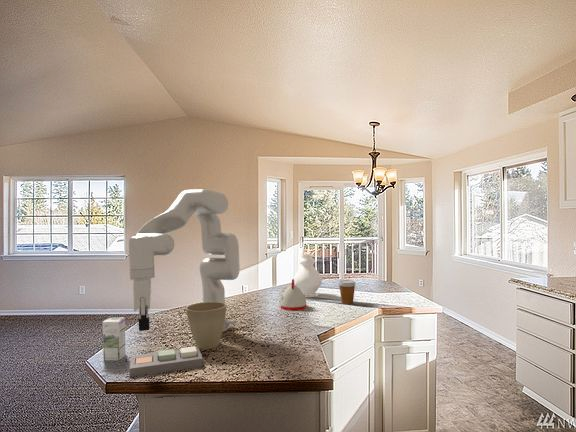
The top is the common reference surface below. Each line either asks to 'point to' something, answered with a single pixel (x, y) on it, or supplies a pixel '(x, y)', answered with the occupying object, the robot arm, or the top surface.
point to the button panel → (164, 363)
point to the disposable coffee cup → (347, 291)
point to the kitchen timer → (293, 298)
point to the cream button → (188, 352)
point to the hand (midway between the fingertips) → (144, 329)
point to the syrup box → (114, 338)
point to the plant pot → (206, 323)
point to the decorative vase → (308, 277)
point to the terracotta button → (143, 360)
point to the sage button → (166, 355)
